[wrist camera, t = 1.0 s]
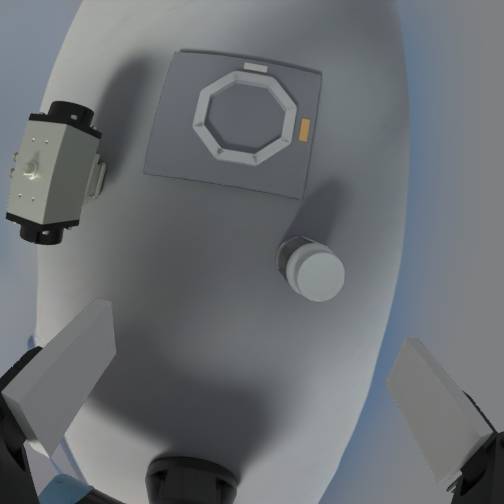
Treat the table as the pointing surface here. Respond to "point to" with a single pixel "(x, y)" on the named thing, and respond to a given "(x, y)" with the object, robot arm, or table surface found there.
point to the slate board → (235, 124)
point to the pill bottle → (310, 268)
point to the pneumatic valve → (54, 172)
